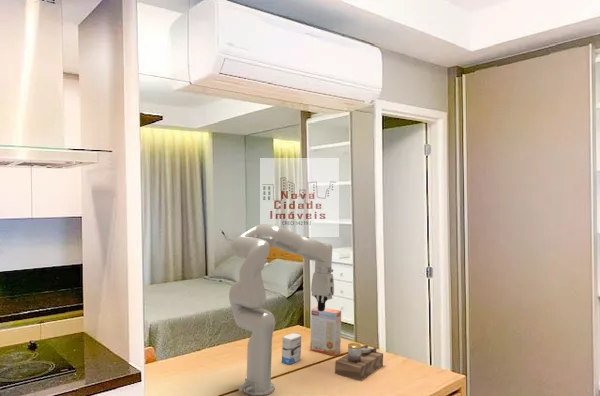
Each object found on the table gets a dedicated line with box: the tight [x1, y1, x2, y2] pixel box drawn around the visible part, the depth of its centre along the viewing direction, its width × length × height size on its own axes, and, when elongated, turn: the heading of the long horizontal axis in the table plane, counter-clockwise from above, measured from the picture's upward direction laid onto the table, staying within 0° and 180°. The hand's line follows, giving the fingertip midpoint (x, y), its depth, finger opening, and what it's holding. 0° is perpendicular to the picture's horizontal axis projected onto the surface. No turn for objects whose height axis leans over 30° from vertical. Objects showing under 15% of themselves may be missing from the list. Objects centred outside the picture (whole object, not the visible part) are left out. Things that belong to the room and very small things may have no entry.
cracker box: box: [309, 306, 342, 356], centre depth 225 cm, size 14×6×21 cm, turn 58°
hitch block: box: [334, 344, 384, 382], centre depth 203 cm, size 22×12×8 cm, turn 144°
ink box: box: [281, 332, 302, 366], centre depth 211 cm, size 8×5×12 cm, turn 143°
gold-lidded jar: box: [347, 342, 362, 363], centre depth 199 cm, size 6×6×12 cm
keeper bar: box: [361, 347, 373, 353], centre depth 208 cm, size 10×3×1 cm, turn 144°
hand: (321, 310), depth 208 cm, fingers closed
